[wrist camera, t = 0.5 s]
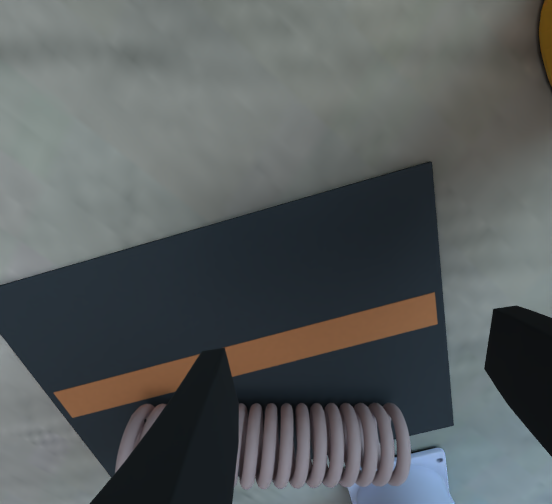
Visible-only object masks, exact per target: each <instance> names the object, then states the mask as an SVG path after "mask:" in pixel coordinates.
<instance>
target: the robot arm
mask: <svg viewBox="0 0 552 504" xmlns="http://www.w3.org/2000/svg"><path fill="white" fill-rule="evenodd" d="M484 369H485V370H486V372H487V374H488V375H489V377H490V378H491V380H492V381H493V383H494V385H495V386H496V388H497V389H498V391H499V392H500V394H501V395H502V396H503V398H504V399H505V401H506V402H507V404H508V405H509V406H510V408H511V409H512V410H513V411H514V413H515V414H516V415H517V416H518V417H519V419H520V420H521V421H522V422H523V423H524V425H525V426H526V427H527V428H528V429H529V431H530V432H531V433H532V434H533V435H534V437H535V438H536V439H537V440H538V441H539V442H540V444H541V445H542V446H543V447H544V448H545V449H546V451H547V452H548V453H549V454H550V455H551V456H552V318H550V317H547V316H545V315H542V314H539V313H537V312H534V311H531V310H528V309H525V308H522V307H519V306H511V307H504V308H497V309H493V315H492V322H491V328H490V335H489V341H488V348H487V354H486V361H485V368H484ZM238 444H239V402H238V398H237V394H236V390H235V386H234V382H233V378H232V374H231V370H230V366H229V362H228V358H227V354H226V350H225V348H220V349H213V350H206V351H202V352H201V353H200V355H199V356H198V358H197V359H196V361H195V362H194V364H193V365H192V367H191V369H190V370H189V372H188V373H187V375H186V376H185V378H184V379H183V381H182V382H181V384H180V385H179V387H178V388H177V390H176V392H175V393H174V395H173V396H172V397H171V399H170V400H169V402H168V403H167V405H166V406H165V408H164V409H163V410H162V412H161V413H160V415H159V416H158V418H157V419H156V420H155V422H154V423H153V425H152V426H151V427H150V429H149V430H148V431H147V433H146V434H145V435H144V437H143V438H142V439H141V441H140V442H139V443H138V445H137V446H136V447H135V449H134V450H133V451H132V453H131V454H130V455H129V456H128V458H127V459H126V460H125V462H124V463H123V464H122V465H121V467H120V468H119V469H118V470H117V472H116V473H115V474H114V475H113V477H112V478H111V479H110V480H109V481H108V483H107V484H106V485H105V486H104V487H103V489H102V490H101V491H100V492H99V493H98V495H97V496H96V497H95V498H94V499H93V500H92V502H91V503H90V504H232V499H233V490H234V481H235V472H236V463H237V454H238ZM396 461H397V457H394V467H393V470H394V468H395V466H396ZM360 470H362V468H361V466H360ZM376 471H377V469H376ZM347 488H348V491H349V494H350V497H351V501H352V504H455V503H454V501H453V499H452V497H451V495H450V493H449V486H448V476H447V466H446V457H445V453H444V451H443V449H442V448H433V449H429V450H424V451H420V452H416V453H411V464H410V470H409V474H408V477H407V479H406V481H405V482H404V483H403V484H401V485H400V486H392V485H390V484H388V483H387V484H386V485H384V486H382V487H380V486H375V485H373V484H372V483H371V484H370V485H368V486H366V487H361V486H358V485H357V484H356V483H354V485H352V486H351V487H347Z"/></svg>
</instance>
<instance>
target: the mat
mask: <svg viewBox="0 0 552 504" xmlns="http://www.w3.org/2000/svg"><path fill="white" fill-rule="evenodd" d="M0 334H1V335H2V337H3V338H4V339H5V341H6V342H7V343H8V344H9V346H10V347H11V348H12V350H13V351H14V352H15V353H16V355H17V356H18V357H19V359H20V360H21V361H22V363H23V364H24V365H25V366H26V368H27V369H28V370H29V372H30V373H31V374H32V375H33V377H34V378H35V379H36V381H37V382H38V383H39V384H40V386H41V387H42V388H43V390H44V391H45V392H46V394H47V395H48V396H49V397H50V399H51V400H52V401H53V403H54V404H55V405H56V406H57V408H58V409H59V410H60V412H61V413H62V414H63V415H64V417H65V418H66V419H67V421H68V422H69V423H70V424H71V426H72V427H73V428H74V430H75V431H76V432H77V434H78V435H79V436H80V437H81V439H82V440H83V441H84V443H85V444H86V445H87V446H88V448H89V449H90V450H91V452H92V453H93V454H94V455H95V457H96V458H97V459H98V461H99V462H100V463H101V465H102V466H103V467H104V468H105V470H106V471H107V472H108V474H109V475H110V476H111V477H113V475H114V474H115V467H116V460H117V455H118V450H119V447H120V443H121V440H122V436H123V434H124V431H125V428H126V426H127V424H128V422H129V420H130V418H131V415H132V414H133V413H134V412H135V411H136V410H137V409H138V408H139V407H140V406H141V405H144V404H151V405H153V406H154V407H156V406H157V405H160V404H167V403H168V402H169V400H170V399H171V397H172V396H173V395H174V393H175V392H176V390H177V388H178V387H179V385H180V384H181V382H182V381H183V379H184V378H185V376H186V375H187V373H188V372H189V370H190V369H191V367H192V365H193V364H194V362H195V361H196V359H197V358H198V356H199V355H200V353H201V352H202V351H206V350H213V349H220V348H225V350H226V354H227V358H228V362H229V366H230V370H231V374H232V378H233V382H234V386H235V390H236V394H237V398H238V402H239V404H240V403H242V404H244V405H245V406H246V407H247V411H248V418H249V411H250V407H251V406H252V405H253V404H255V403H258V404H260V405H261V407H262V411H263V425H264V420H265V410H266V406H267V405H268V404H270V403H273V404H275V405H276V407H277V415H278V434H279V447H280V431H281V406H282V405H283V404H285V403H289V404H290V405H291V406H292V409H293V441H294V450H295V457H296V453H297V438H296V424H295V412H296V406H297V405H298V404H299V403H304V404H305V405H306V406H307V408H308V412H309V420H310V408H311V406H312V405H313V404H314V403H319V404H320V405H321V406H322V407H323V410H325V407H326V405H327V404H329V403H334V404H335V405H336V406H337V407H338V409H339V408H340V406H341V405H342V404H343V403H349V404H350V405H351V406H352V407H353V408H354V406H355V405H356V404H358V403H364V404H365V405H366V406H367V407H369V405H370V404H372V403H378V404H380V405H381V406H382V407H383V405H384V404H386V403H393V404H395V405H396V406H397V407H398V408H399V409H400V411H401V412H402V414H403V417H404V419H405V422H406V425H407V428H408V432H409V436H411V435H415V434H420V433H424V432H428V431H432V430H437V429H441V428H445V427H449V426H453V425H454V423H453V411H452V399H451V387H450V375H449V363H448V351H447V339H446V327H445V315H444V303H443V291H442V279H441V267H440V255H439V243H438V231H437V219H436V207H435V194H434V182H433V170H432V162H427V163H423V164H420V165H416V166H413V167H410V168H406V169H403V170H399V171H396V172H392V173H389V174H385V175H382V176H378V177H375V178H371V179H368V180H364V181H361V182H358V183H354V184H351V185H347V186H344V187H340V188H337V189H333V190H330V191H326V192H323V193H319V194H316V195H312V196H309V197H306V198H302V199H299V200H295V201H292V202H288V203H285V204H281V205H278V206H274V207H271V208H267V209H264V210H261V211H257V212H254V213H250V214H247V215H243V216H240V217H236V218H233V219H229V220H226V221H222V222H219V223H215V224H212V225H209V226H205V227H202V228H198V229H195V230H191V231H188V232H184V233H181V234H177V235H174V236H170V237H167V238H163V239H160V240H157V241H153V242H150V243H146V244H143V245H139V246H136V247H132V248H129V249H125V250H122V251H118V252H115V253H112V254H108V255H105V256H101V257H98V258H94V259H91V260H87V261H84V262H80V263H77V264H73V265H70V266H66V267H63V268H60V269H56V270H53V271H49V272H46V273H42V274H39V275H35V276H32V277H28V278H25V279H21V280H18V281H14V282H11V283H8V284H4V285H1V286H0ZM144 422H145V423H146V418H145V420H144ZM391 428H392V433H393V439H396V434H395V429H394V425H393V422H392V419H391ZM377 432H378V438H379V443H380V435H379V429H378V424H377ZM327 455H328V453H327ZM310 457H311V459H313V451H312V444H311V435H310ZM238 476H239V469H238Z"/></svg>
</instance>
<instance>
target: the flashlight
mask: <svg viewBox="0 0 552 504" xmlns="http://www.w3.org/2000/svg"><path fill="white" fill-rule="evenodd" d="M539 39H540V49H541V54H542V58H543V62H544V66H545V69H546V73H547V76H548V80H549V82H550V84H551V87H552V0H545V1H544V4H543V7H542V10H541V16H540V26H539Z"/></svg>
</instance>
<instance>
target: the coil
mask: <svg viewBox="0 0 552 504" xmlns="http://www.w3.org/2000/svg"><path fill="white" fill-rule="evenodd" d="M166 405H167V404H160V405H157V406H156V407H154V406H153V405H151V404H144V405H141V406H140V407H139V408H138V409H137V410H136V411H135V412H134V413H133V414H132V415H131V418H130V420H129V422H128V424H127V426H126V428H125V431H124V434H123V436H122V440H121V443H120V447H119V450H118V455H117V460H116V467H115V473H116V472H117V470H118V469H119V468H120V467H121V465H122V464H123V463H124V462H125V460H126V459H127V458H128V456H129V455H130V454H131V453H132V451H133V450H134V449H135V447H136V446H137V445H138V443H139V442H140V441H141V439H142V438H143V437H144V435H145V434H146V433H147V431H148V430H149V429H150V427H151V426H152V425H153V423H154V422H155V420H156V419H157V418H158V416H159V415H160V413H161V412H162V410H163V409H164V408H165V406H166ZM145 418H146V423H145V422H144V420H145ZM391 419H392V422H393V425H394V429H395V434H396V441H397V461H396V466H395V468H394V470H393V467H394V439H393V433H392V428H391ZM295 424H296V438H297V453H296V457H295V450H294V441H293V409H292V406H291V405H290V404H289V403H285V404H283V405H282V406H281V431H280V447H279V434H278V415H277V407H276V405H275V404H273V403H270V404H268V405H267V406H266V410H265V420H264V425H263V411H262V407H261V405H260V404H258V403H255V404H253V405H252V406H251V407H250V411H249V418H248V411H247V407H246V406H245V405H244V404H242V403H240V404H239V444H238V454H237V463H236V472H235V481H234V487H235V485H236V483H237V477H238V469H239V478H240V484H241V487H242V488H243V489H246V490H248V489H250V488H251V487H252V486H253V484H254V480H255V476H256V481H257V484H258V486H259V487H260V488H261V489H266V488H268V487H269V485H270V484H271V481H272V480H273V483H274V485H275V486H276V487H277V488H278V489H283V488H284V487H286V485H287V483H288V481H289V482H290V484H291V485H292V486H293V487H294V488H301V487H302V486H303V485H304V483H305V482H306V483H307V485H309V486H310V487H311V488H317V487H318V486H320V485H321V483H323V484H324V485H325V486H327V487H330V488H333V487H335V486H336V485H337V484H338V483H339V484H341V485H342V486H343V487H351V486H352V485H354V483H356V484H357V485H358V486H361V487H366V486H368V485H370V484H371V483H372V484H373V485H375V486H380V487H382V486H384V485H386V484H387V483H388V484H390V485H392V486H400V485H401V484H403V483H404V482H405V481H406V479H407V477H408V474H409V470H410V464H411V445H410V437H409V432H408V428H407V425H406V422H405V419H404V417H403V414H402V412H401V411H400V409H399V408H398V407H397V406H396V405H395V404H393V403H386V404H384V405H383V407H382V406H381V405H380V404H378V403H372V404H370V405H369V407H367V406H366V405H365V404H364V403H358V404H356V405H355V406H354V408H353V407H352V406H351V405H350V404H349V403H343V404H342V405H341V406H340V408H339V409H338V407H337V406H336V405H335V404H334V403H329V404H327V405H326V407H325V410H323V407H322V406H321V405H320V404H319V403H314V404H313V405H312V406H311V408H310V420H309V412H308V408H307V406H306V405H305V404H304V403H299V404H298V405H297V406H296V412H295ZM377 424H378V429H379V435H380V443H379V438H378V432H377ZM310 435H311V444H312V451H313V465H312V462H311V457H310ZM380 445H381V447H380ZM327 453H328V458H329V462H330V464H329V468H328V465H327ZM344 462H345V465H346V469H344V467H343V464H344ZM360 466H361V468H362V470H360ZM376 469H377V471H376Z"/></svg>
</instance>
